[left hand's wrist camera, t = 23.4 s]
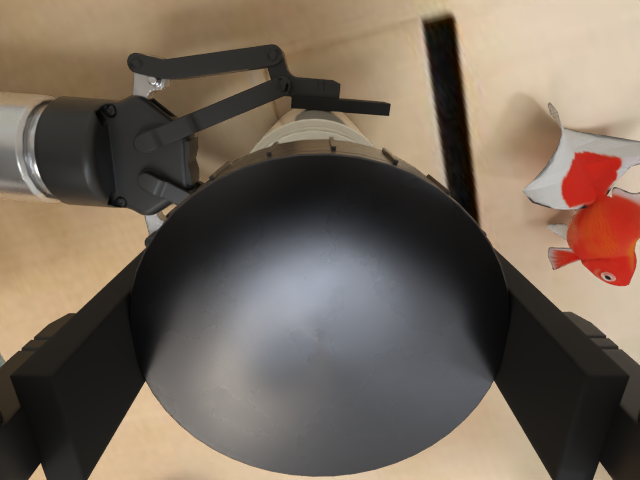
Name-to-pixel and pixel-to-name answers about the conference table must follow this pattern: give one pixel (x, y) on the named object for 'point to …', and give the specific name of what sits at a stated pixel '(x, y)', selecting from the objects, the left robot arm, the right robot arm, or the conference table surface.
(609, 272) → the fish
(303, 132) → the jar
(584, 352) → the left robot arm
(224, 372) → the lid
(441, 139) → the conference table surface
